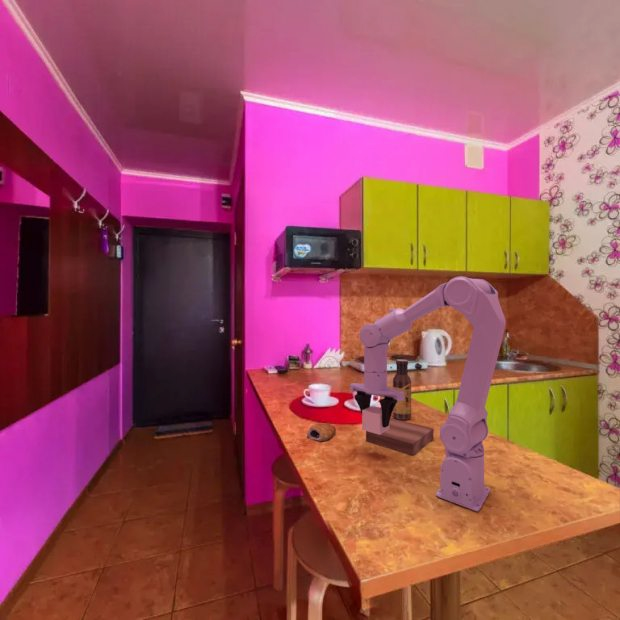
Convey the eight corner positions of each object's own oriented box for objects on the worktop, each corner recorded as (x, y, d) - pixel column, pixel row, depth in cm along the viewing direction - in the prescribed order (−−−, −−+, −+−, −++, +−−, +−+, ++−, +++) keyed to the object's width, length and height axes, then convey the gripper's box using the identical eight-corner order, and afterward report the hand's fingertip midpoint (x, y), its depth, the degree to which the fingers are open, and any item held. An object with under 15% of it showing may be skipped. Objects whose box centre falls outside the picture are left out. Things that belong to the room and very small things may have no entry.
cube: (379, 434, 80) (379, 414, 80) (362, 429, 83) (362, 410, 83) (389, 428, 83) (389, 409, 83) (372, 424, 87) (372, 405, 87)
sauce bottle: (409, 422, 108) (408, 362, 108) (390, 418, 111) (390, 360, 111) (413, 416, 113) (413, 359, 113) (395, 413, 117) (395, 358, 116)
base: (413, 455, 84) (412, 443, 84) (366, 441, 93) (365, 430, 93) (433, 438, 94) (433, 428, 94) (389, 427, 103) (389, 417, 103)
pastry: (323, 428, 103) (323, 416, 103) (341, 434, 99) (341, 421, 99) (304, 438, 96) (304, 425, 95) (323, 444, 91) (323, 431, 91)
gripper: (409, 371, 81) (409, 425, 81) (359, 365, 91) (360, 413, 91) (396, 376, 76) (396, 434, 76) (345, 369, 86) (345, 420, 86)
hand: (375, 423), depth 83 cm, fingers closed on cube, 5 cm apart
